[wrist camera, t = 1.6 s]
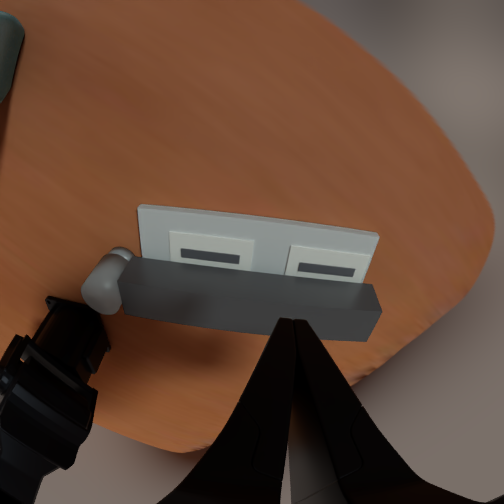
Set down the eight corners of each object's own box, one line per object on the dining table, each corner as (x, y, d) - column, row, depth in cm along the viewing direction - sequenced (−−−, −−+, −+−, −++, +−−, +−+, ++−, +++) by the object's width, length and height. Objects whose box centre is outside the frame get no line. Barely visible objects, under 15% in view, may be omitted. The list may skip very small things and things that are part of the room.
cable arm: (104, 282, 22) (86, 310, 19) (96, 251, 20) (76, 277, 17) (359, 314, 22) (367, 346, 19) (372, 284, 20) (383, 316, 17)
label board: (119, 304, 25) (115, 311, 24) (99, 200, 19) (93, 206, 18) (337, 332, 25) (339, 340, 24) (376, 232, 19) (380, 239, 18)
